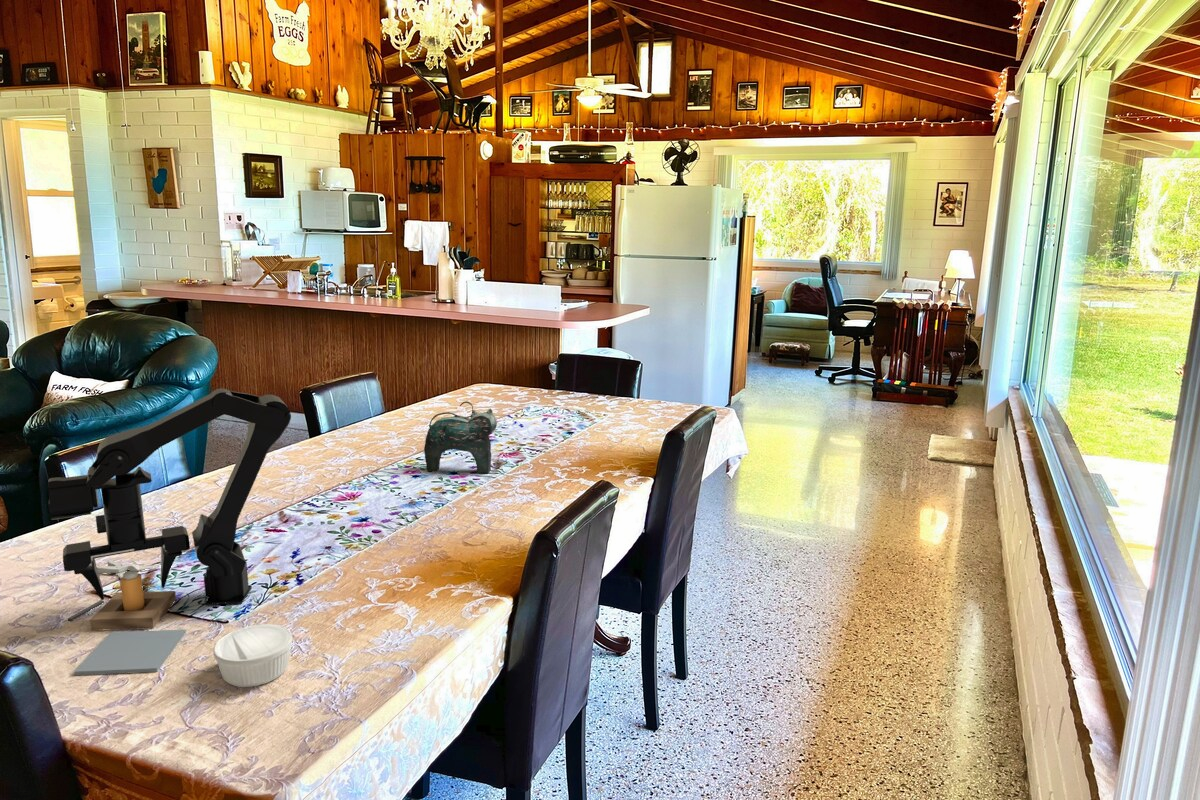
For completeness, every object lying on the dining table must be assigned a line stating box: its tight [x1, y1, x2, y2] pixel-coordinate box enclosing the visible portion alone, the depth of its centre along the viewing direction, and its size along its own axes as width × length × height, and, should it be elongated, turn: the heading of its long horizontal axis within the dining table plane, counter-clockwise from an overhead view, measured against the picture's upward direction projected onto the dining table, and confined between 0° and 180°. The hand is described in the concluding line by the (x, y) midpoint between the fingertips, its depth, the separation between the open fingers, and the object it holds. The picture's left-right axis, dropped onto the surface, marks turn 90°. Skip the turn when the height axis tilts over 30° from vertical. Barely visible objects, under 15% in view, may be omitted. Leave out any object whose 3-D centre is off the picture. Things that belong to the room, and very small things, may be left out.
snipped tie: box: [67, 599, 105, 622], centre depth 144 cm, size 7×1×1 cm, turn 167°
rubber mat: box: [73, 629, 187, 676], centre depth 131 cm, size 12×12×1 cm
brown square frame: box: [89, 590, 177, 631], centre depth 143 cm, size 10×10×2 cm
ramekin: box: [212, 623, 293, 688], centre depth 126 cm, size 11×11×5 cm
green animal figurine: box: [423, 400, 498, 475], centre depth 223 cm, size 20×6×20 cm, turn 84°
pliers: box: [96, 560, 159, 579], centre depth 158 cm, size 10×2×15 cm
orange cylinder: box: [119, 570, 145, 611], centre depth 142 cm, size 3×3×8 cm
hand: (133, 592), depth 142 cm, fingers open, 9 cm apart
